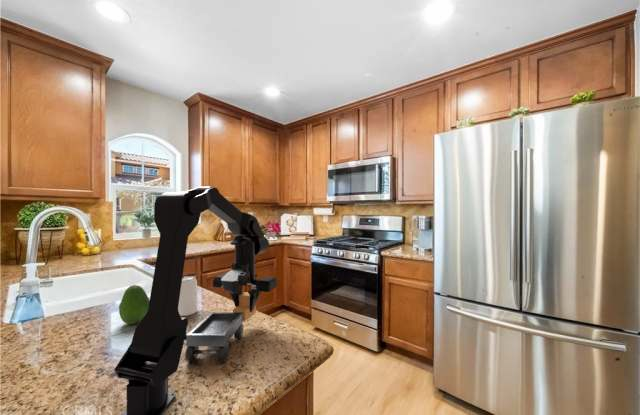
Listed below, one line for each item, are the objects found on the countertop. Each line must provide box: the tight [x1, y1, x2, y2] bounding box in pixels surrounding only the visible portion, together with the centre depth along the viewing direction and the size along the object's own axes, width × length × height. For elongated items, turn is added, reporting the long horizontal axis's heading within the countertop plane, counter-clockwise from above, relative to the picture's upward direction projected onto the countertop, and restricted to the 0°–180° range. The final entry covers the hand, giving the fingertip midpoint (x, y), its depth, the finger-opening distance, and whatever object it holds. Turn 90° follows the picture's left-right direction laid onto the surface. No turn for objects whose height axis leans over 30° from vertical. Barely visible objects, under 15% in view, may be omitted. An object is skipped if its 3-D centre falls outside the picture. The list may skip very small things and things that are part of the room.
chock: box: [232, 291, 257, 322], centre depth 77 cm, size 6×4×6 cm, turn 164°
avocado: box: [118, 284, 150, 325], centre depth 81 cm, size 8×8×12 cm
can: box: [178, 275, 198, 317], centre depth 89 cm, size 6×6×12 cm
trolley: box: [184, 311, 244, 363], centre depth 66 cm, size 14×9×7 cm, turn 179°
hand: (245, 310), depth 77 cm, fingers closed on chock, 4 cm apart
